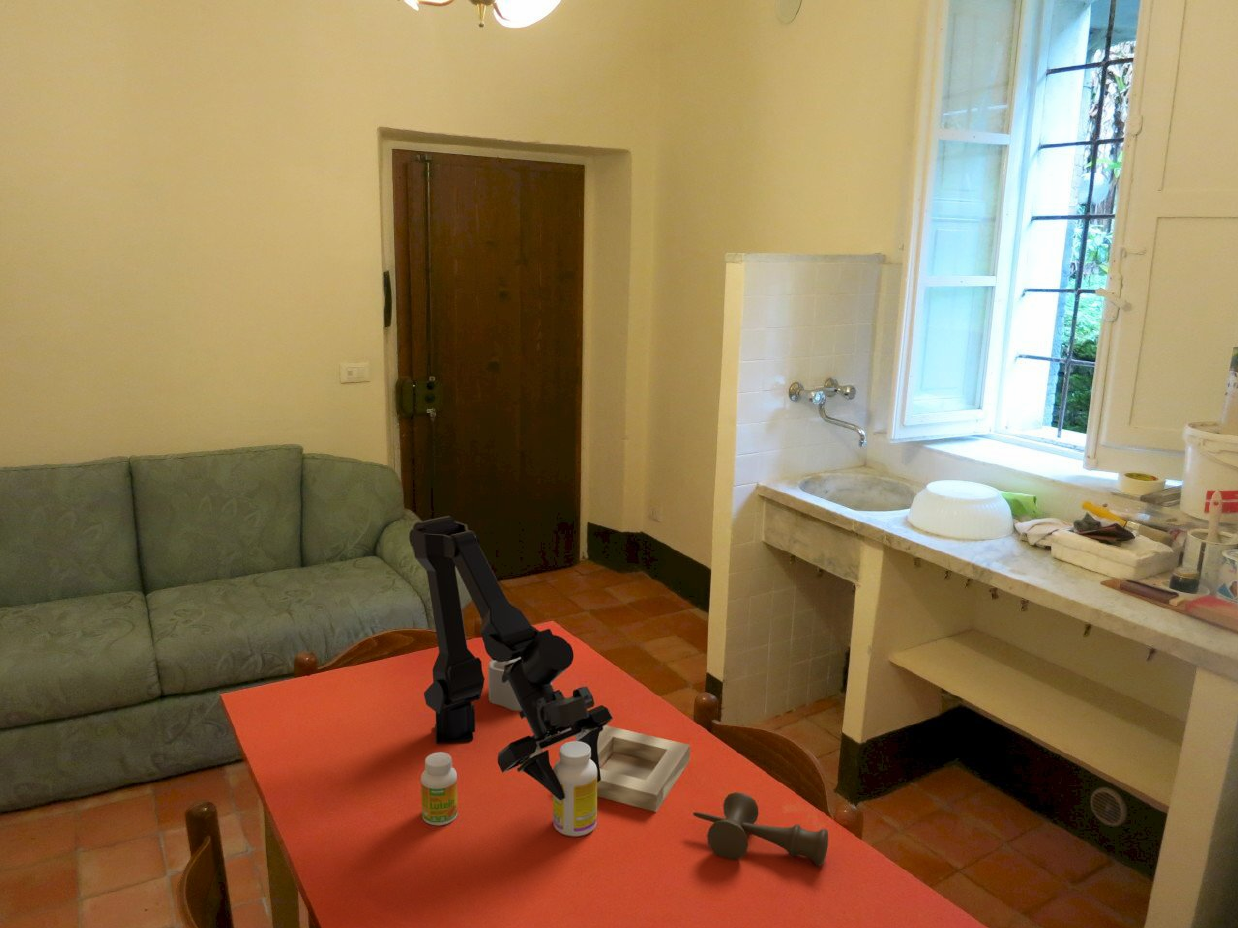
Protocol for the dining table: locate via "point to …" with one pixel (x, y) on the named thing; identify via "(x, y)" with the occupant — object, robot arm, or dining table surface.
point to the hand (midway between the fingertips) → (581, 790)
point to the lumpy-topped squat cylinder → (501, 686)
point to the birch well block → (638, 767)
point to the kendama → (759, 832)
